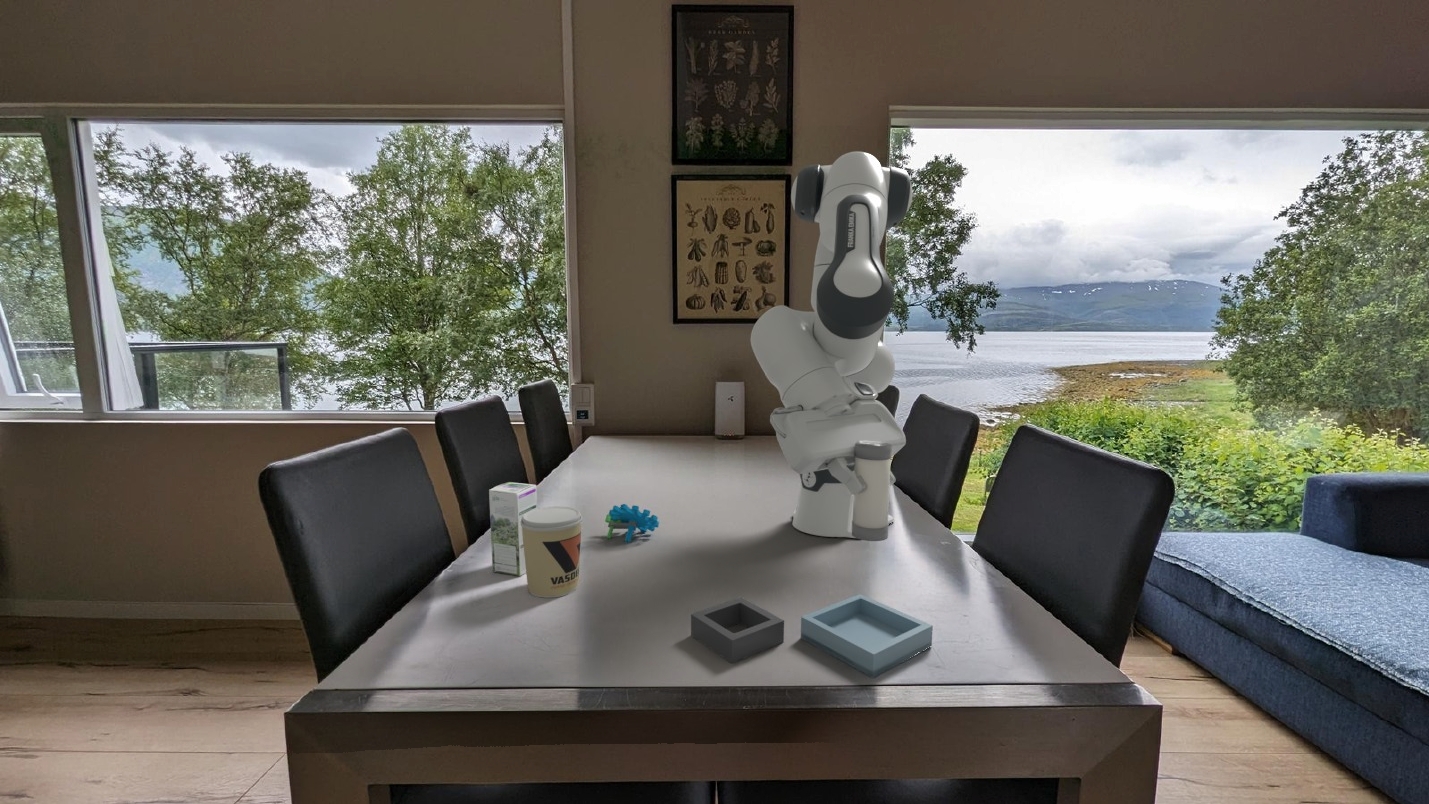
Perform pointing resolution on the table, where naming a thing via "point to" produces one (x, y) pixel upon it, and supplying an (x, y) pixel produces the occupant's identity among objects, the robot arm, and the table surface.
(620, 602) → the table surface
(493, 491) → the syrup box
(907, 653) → the tray
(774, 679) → the table surface
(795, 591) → the table surface
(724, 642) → the socket
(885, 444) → the cylinder
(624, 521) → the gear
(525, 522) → the cream lidded tub
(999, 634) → the table surface
